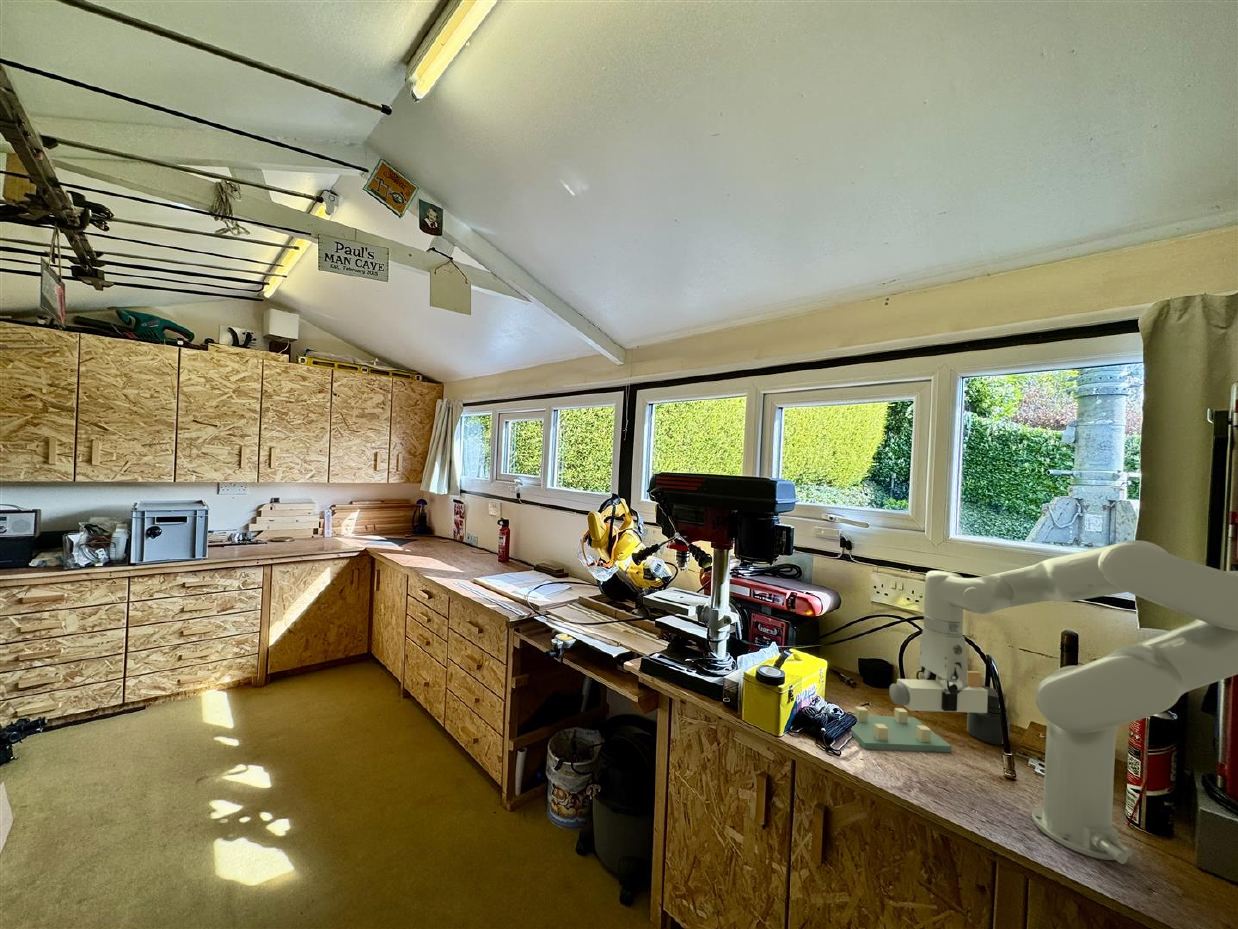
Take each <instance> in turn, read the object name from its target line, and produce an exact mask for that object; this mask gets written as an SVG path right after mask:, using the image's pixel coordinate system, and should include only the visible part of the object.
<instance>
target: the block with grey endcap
mask: <svg viewBox="0 0 1238 929" xmlns="http://www.w3.org/2000/svg"><path fill="white" fill-rule="evenodd" d="M981 674H982V672H980V671H979V670H976V671H975V670H968V678H967V681H966V682H967V684H968V687H967V688H965V689H963V690H962V691H961V692H960V694H957V711H944V710H942V692H945V691H944V685H943V679H942V680H941V679H940V680H939V679H938V680H924V679H915V678H914V679H912V678H911V679H909V678H907V679H906V678H897V679H896V683H891V684H890V686H889V689H888V690H889V692H888V693H889V696H890V699H891V701H892V702H893V704H895V705H899V706H903V707H905V708H906V709H907V710H909V711H911V712H914V711H915V712H916V711H917V712H945V713H947V712H948V713H949V712H950V713H952V712H953V713H968V712H975V713H987V700H988V690H986V689H984V688H982V687H980V686H981V682H982V681H981V680H982V679H981V677H982V675H981ZM951 685H953V683H952V682H949V687H950V686H951Z"/></svg>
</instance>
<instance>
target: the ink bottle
mask: <svg viewBox="0 0 1238 929" xmlns="http://www.w3.org/2000/svg"><path fill="white" fill-rule="evenodd" d="M980 687H982V688H984V689H986V690H988V700H987V713H975V712H967V716H966V717H967V719H966V731H967V733H968V734H970V735H971V736H973V737H974V738H976V739H978V740H980V741H981V742H984V743H986V744H992V745H994V746H1003V745H1002V728H1001V719H1000V708H999V697H998V694H997V692H996V690H997V689H995V688H992V687H989V686H983V685H980ZM1001 692H1002V693H1003V697H1004V702H1005V705H1006V702H1007V701H1006V700H1007V695H1006V694H1005V693H1004V692H1003V691H1001ZM1006 721H1007V726H1008V734H1009V738H1010V732H1011V731H1010V729H1011V717H1010V716H1009V714H1007V713H1006Z"/></svg>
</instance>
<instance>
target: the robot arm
mask: <svg viewBox="0 0 1238 929" xmlns="http://www.w3.org/2000/svg"><path fill="white" fill-rule="evenodd" d="M924 578H925V581H924V582H925V584H924V610H923V629H922V632H921V638H920V647H919V657H918V658H917V662H918V664H919V666H920V668H921V672H922V673H923V675H922V676H923V677H922V680H939V677H940V678H941V679H942V680H943V685H944V691H945V692H942V710H944V711H957V694H960V692H961V691H962V690H963V689H965V688H967V687H968V684H967V682H966V681H967V678H968V671H969V665H968V664H969V663H968V650H967V649H968V648H967V642H966V639H965V637H964V636H963V627H964V626H963V625H964V610H966V611H968V612H971V613H974V614H978V615H987V614H988V615H989V614H991V613H994V612H997V611H1000V610H1003V609H1008V608H1013V607H1018V606H1024V605H1030V604H1034V603H1035V604H1037V603H1042V602H1051V601H1052V602H1053V601H1057V602H1063V603H1064V602H1067V603H1068V602H1075V601H1076V602H1077V601H1081V600H1086V599H1087V600H1088V599H1093V598H1094V599H1095V598H1098V597H1105V596H1110V595H1111V596H1112V595H1117V594H1122V593H1129V594H1132V595H1134V596H1137V597H1139V598H1142V599H1143V600H1146V601H1149V602H1151V603H1153V604H1156V605H1159V606H1162V607H1164V608H1167V609H1170V610H1172V611H1175V612H1178V613H1181V614H1183V615H1185V616H1189V617H1191V618H1194V620H1193V621H1191V622H1189V623H1187V624H1184V625H1182V626H1179V627H1177V628H1174V629H1172V630H1170V631H1168V632H1165V633H1162V634H1160V635H1157V636H1154V637H1152V638H1148V639H1145V640H1143V641H1139V642H1135V643H1133V644H1129V645H1125V646H1120V647H1118V648H1116V649H1114V650H1112V651H1110V653H1109V654H1107V655H1105V656H1103V657H1100V658H1098V659H1095V660H1093V661H1090V662H1088V663H1085V664H1082V665H1066V666H1063V667H1060V668H1058V669H1056V670H1055V671H1053V672H1052V673H1050V674H1049V675H1048V676H1047V677H1045V678H1043V679H1042V680H1041V681H1040V682H1039V683H1038V684H1037V686H1036V689H1035V693H1034V698H1035V700H1034V701H1035V704H1036V707H1037V708H1038V711H1039V712H1040V713H1041V715H1042V716H1043V718H1045V719H1046V721H1047V722H1046V733H1045V734H1046V735H1045V749H1044V750H1045V752H1044V753H1045V754H1044V773H1043V774H1044V778H1043V779H1044V780H1043V799H1042V801H1043V802H1042V804H1043V805H1040V806H1037V807H1035V808H1034V807H1033V810H1032V811H1031V812H1032V814H1031V818H1032V821H1033V823H1034V824H1035V825H1036V827H1037V828H1038V829H1039V830H1040V831H1041V832H1042V833H1043V834H1045V835H1046V836H1047V837H1048V838H1050V839H1052V840H1053V841H1055V842H1056V843H1058V844H1060V845H1062V846H1064V847H1066V848H1068V849H1069V850H1072V851H1074V852H1077V853H1079V854H1082V855H1085V856H1088V857H1091V858H1095V859H1099V860H1105V861H1117V863H1120V864H1126V862H1128V858H1130V857H1131V856H1132V855H1133V851H1132V850H1131V849H1130V848H1129V847H1127V846H1126V845H1124V843H1122V842H1120V840H1119V839H1118V838H1119V830H1118V829H1117V828H1116V827H1114V826H1113V806H1114V805H1113V804H1114V803H1113V801H1114V778H1115V760H1116V741H1117V731H1118V726H1122V725H1124V724H1129V723H1131V722H1135V721H1138V720H1143V719H1146V718H1149V717H1152V716H1156V715H1158V714H1161V713H1163V712H1165V711H1167V710H1169V709H1171V708H1172V707H1173V706H1175V705H1176V704H1177V702H1178V700H1179V699H1180V697H1182V695H1184V694H1185V693H1188V692H1191V691H1192V690H1195V689H1199V688H1201V687H1203V686H1204V687H1205V686H1208V685H1211V684H1213V683H1217V682H1219V681H1222V680H1224V679H1225V680H1226V679H1227V678H1231V677H1233V676H1237V675H1238V570H1226V571H1225V570H1222V569H1221V570H1220V569H1218V568H1214V567H1211V566H1209V565H1208V566H1207V565H1204V564H1201V563H1198V562H1195V561H1191V560H1189V559H1185V558H1183V557H1180V556H1177V555H1173V554H1171V553H1168V552H1167V550H1165V549H1164V548H1163V547H1161V546H1160V545H1158V544H1156V543H1153V542H1151V541H1145V540H1137V539H1136V540H1128V541H1123V542H1122V541H1121V542H1118V543H1115V544H1110V545H1105V546H1102V547H1096V548H1092V549H1087V550H1082V551H1079V552H1074V553H1071V554H1065V555H1059V556H1056V557H1052V558H1048V559H1044V560H1042V561H1040V562H1038V563H1035V564H1033V565H1029V566H1025V567H1022V568H1017V569H1013V570H1007V571H1002V572H999V573H993V574H988V575H984V576H983V575H981V576H978V577H963V576H962V575H961V574H959V573H955V572H950V571H944V570H929V571H927V572H926V574H925V577H924ZM949 682H952V683H953V685H951V686H950V687H949Z"/></svg>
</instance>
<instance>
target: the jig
mask: <svg viewBox="0 0 1238 929" xmlns="http://www.w3.org/2000/svg"><path fill="white" fill-rule="evenodd" d="M893 711H894V712H893V714H894V715H892V716H890V715H889V716H888V715H868V714H869V710H868V709H867V708H866V707H865V706H854V715H855V717H856V718H857V722H856V724H855V725H854V726H852V728H851V730H852V735H853V737H854V738H853V737H852V738H853V739H854V740H855V741H856V742H857V743H858V744H859V746H861V747H862V748H863V750H876V749H877V750H879V751H881V750H882V751H909V752H935V753H936V752H937V753H952V745H951V744H949V743H948V742H947V741H946V740H944V739H943V738H942V737H941V736H939V735H938V734H937V733H936V732H934V731H932V730H931V729H930V727H928V726H927V725H925V724H924V723H923V722H922V721H920V720H919V719H918V718H916V717H914V716H908V715H909V712H908V711H907V710H906V709H905V708H902V707H894V710H893Z"/></svg>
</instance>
